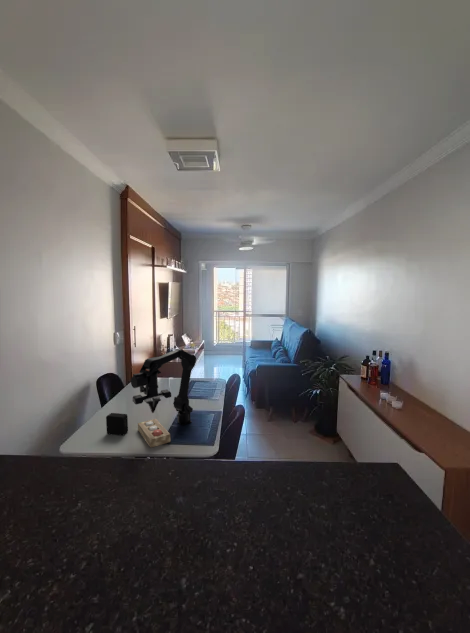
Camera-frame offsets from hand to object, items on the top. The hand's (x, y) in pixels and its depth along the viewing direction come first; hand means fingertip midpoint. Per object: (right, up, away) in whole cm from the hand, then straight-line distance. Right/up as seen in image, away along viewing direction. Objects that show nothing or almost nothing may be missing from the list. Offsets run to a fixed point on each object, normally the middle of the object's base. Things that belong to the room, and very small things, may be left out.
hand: (152, 412), depth 153 cm
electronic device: (-20, -13, +5) cm, 24 cm away
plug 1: (-3, -12, +6) cm, 14 cm away
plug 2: (0, -12, +1) cm, 12 cm away
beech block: (0, -12, +1) cm, 12 cm away
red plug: (+4, -12, -4) cm, 13 cm away
